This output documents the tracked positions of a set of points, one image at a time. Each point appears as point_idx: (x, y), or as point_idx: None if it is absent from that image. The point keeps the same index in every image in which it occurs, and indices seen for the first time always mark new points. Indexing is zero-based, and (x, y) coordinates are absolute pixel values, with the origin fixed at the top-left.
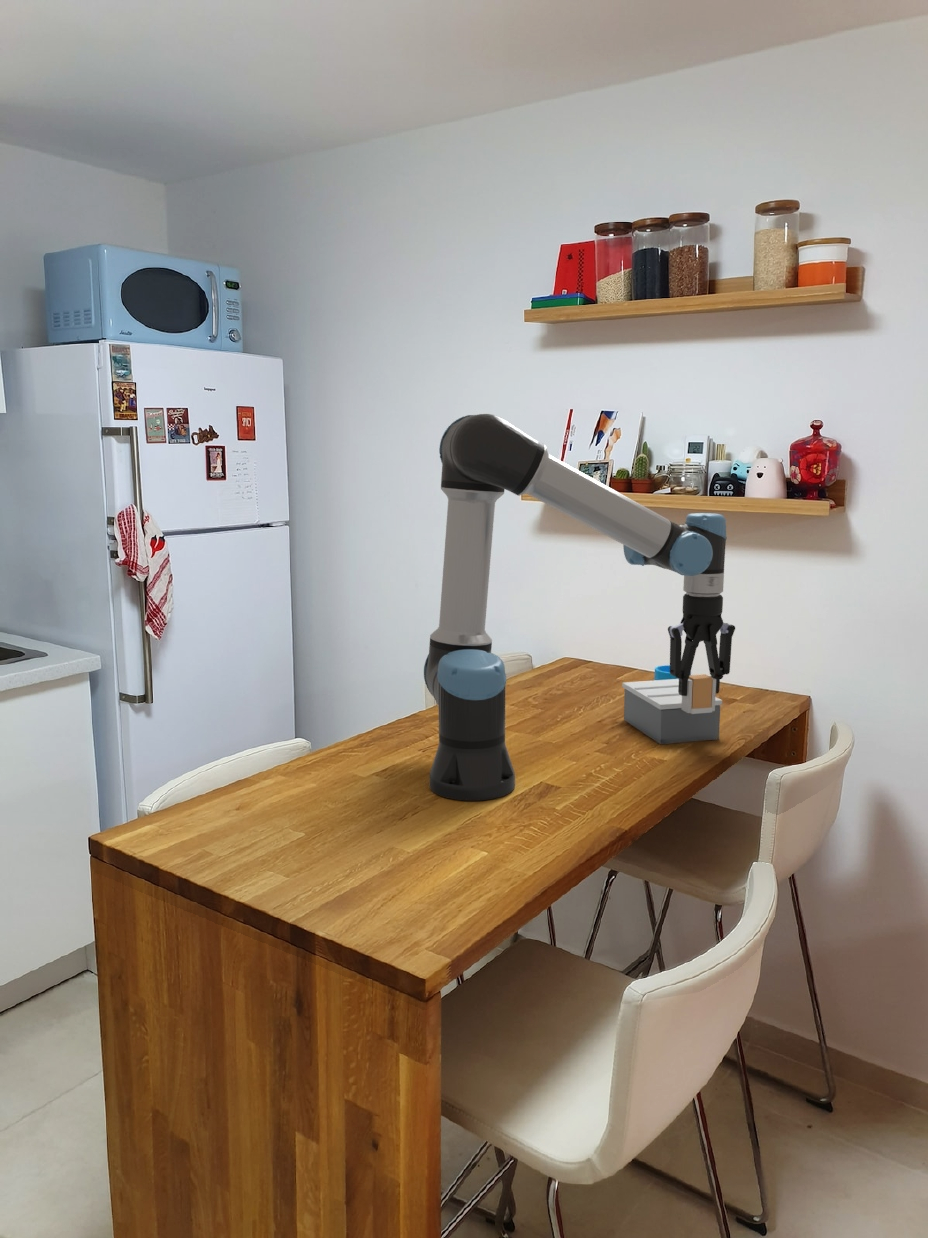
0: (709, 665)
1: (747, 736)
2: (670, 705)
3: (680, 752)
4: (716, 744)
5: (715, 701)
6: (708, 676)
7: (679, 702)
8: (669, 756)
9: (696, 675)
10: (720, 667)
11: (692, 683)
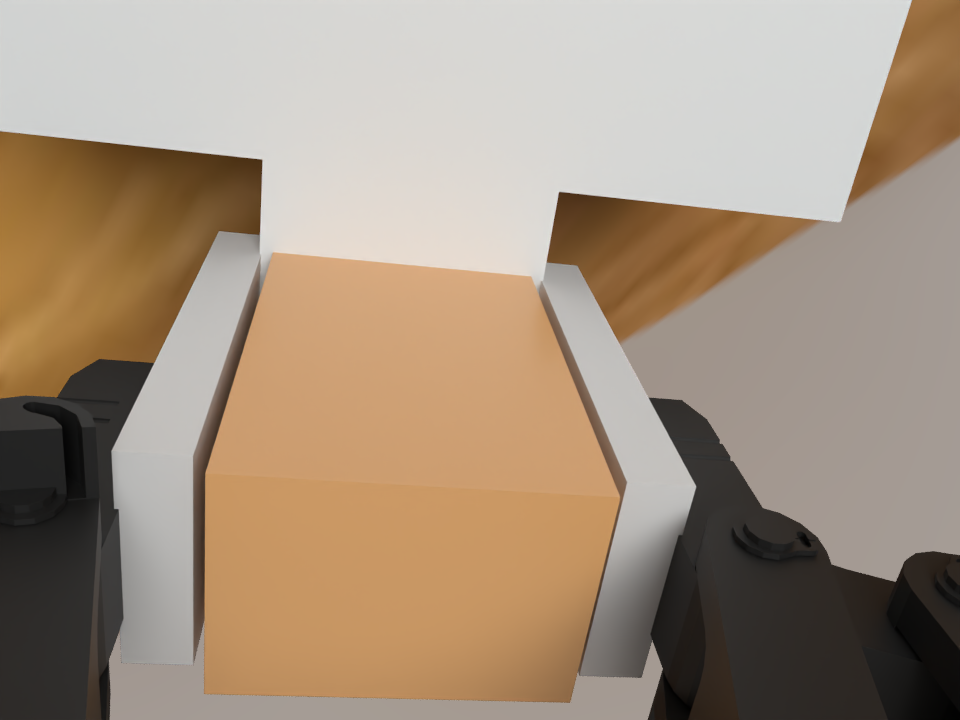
0: (719, 689)
1: (937, 126)
2: (93, 137)
3: (189, 274)
4: (572, 209)
5: (748, 210)
6: (563, 634)
7: (254, 116)
8: (59, 324)
9: (404, 516)
10: (919, 684)
11: (201, 628)
